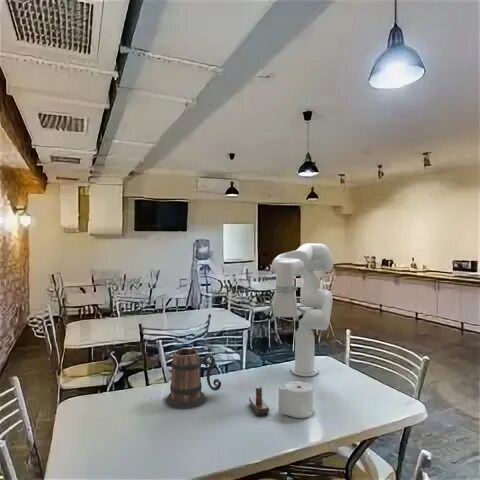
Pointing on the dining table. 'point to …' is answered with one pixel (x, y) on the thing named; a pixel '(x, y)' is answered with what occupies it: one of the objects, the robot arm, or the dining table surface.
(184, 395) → the tankard
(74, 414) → the dining table surface
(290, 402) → the toilet tissue
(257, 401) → the brush
